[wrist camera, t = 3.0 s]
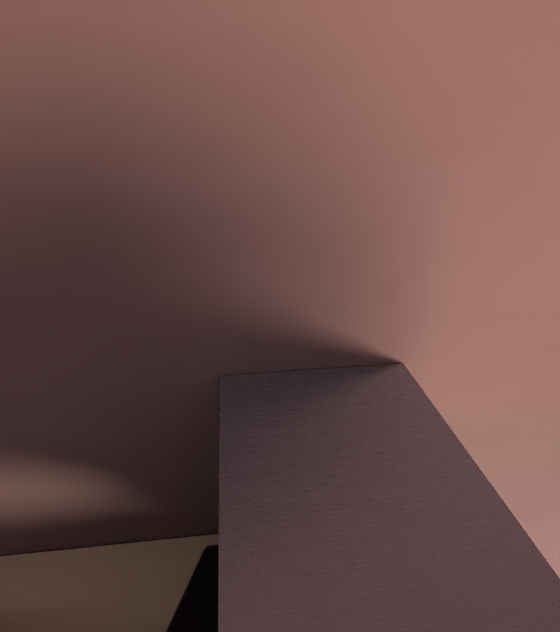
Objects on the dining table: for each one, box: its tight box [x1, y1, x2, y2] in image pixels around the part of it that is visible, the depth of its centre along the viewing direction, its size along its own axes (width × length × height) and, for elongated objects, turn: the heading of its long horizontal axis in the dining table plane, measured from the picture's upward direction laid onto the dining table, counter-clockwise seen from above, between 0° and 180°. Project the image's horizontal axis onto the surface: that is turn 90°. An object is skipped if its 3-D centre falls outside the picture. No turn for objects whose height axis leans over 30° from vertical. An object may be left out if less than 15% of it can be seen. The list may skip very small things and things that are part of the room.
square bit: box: [218, 363, 560, 632], centre depth 7 cm, size 4×4×8 cm
